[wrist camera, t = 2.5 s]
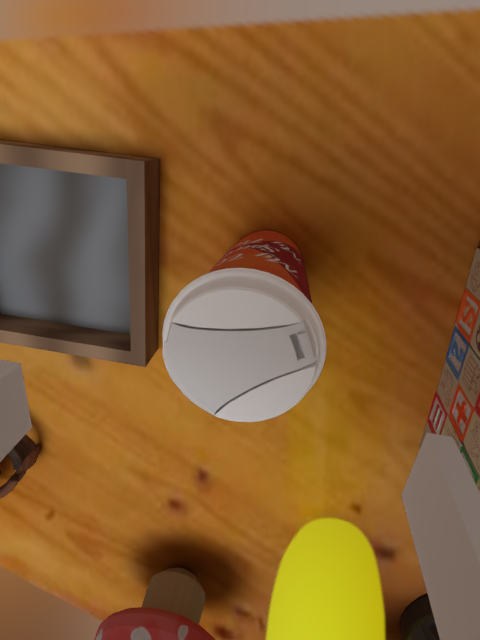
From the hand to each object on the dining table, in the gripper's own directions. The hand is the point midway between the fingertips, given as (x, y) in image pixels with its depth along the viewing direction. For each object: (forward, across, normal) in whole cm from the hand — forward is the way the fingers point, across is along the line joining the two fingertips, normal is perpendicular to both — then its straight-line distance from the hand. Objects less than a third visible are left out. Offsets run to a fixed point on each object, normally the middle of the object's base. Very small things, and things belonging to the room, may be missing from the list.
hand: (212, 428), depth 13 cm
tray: (+19, +16, +2) cm, 25 cm away
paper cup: (+19, 0, 0) cm, 19 cm away
